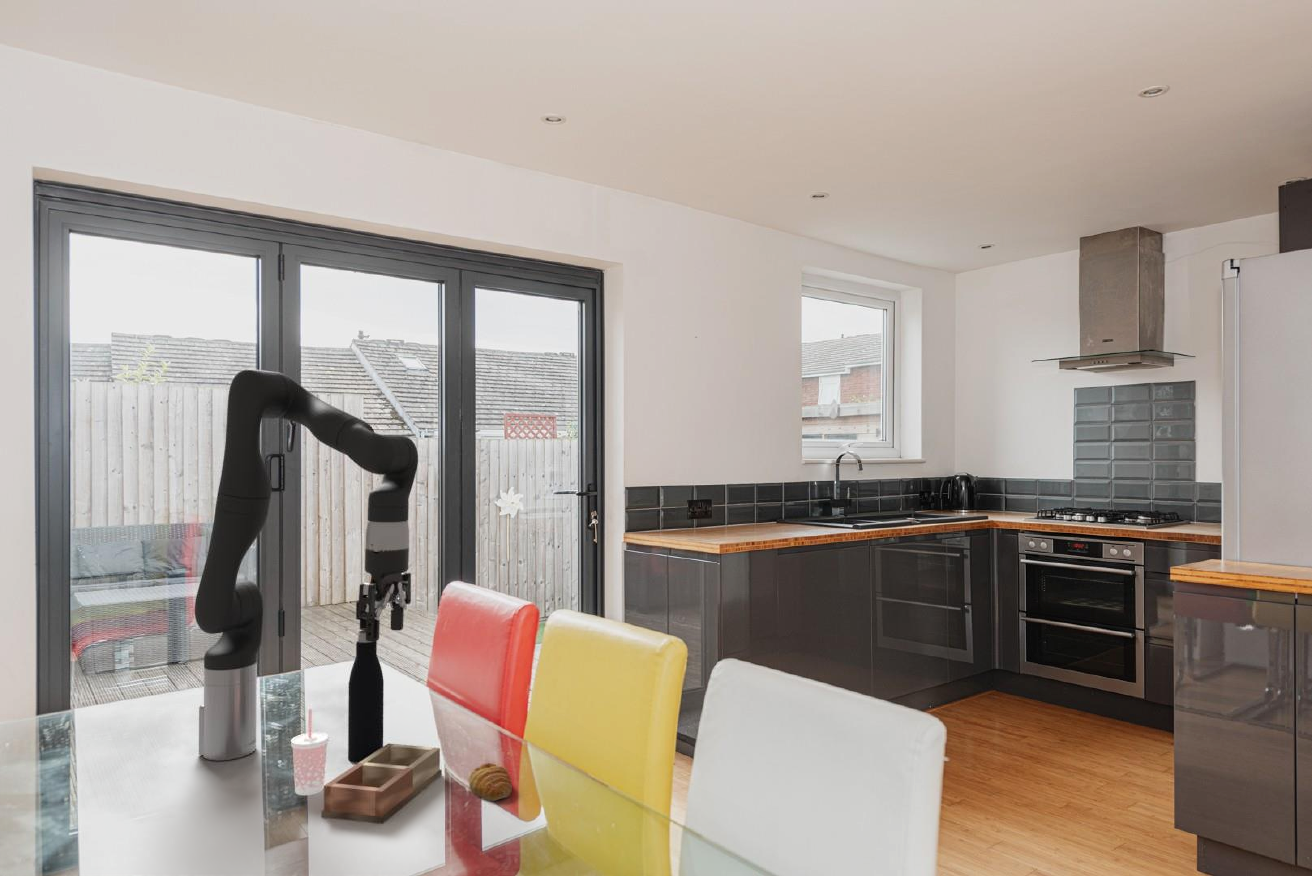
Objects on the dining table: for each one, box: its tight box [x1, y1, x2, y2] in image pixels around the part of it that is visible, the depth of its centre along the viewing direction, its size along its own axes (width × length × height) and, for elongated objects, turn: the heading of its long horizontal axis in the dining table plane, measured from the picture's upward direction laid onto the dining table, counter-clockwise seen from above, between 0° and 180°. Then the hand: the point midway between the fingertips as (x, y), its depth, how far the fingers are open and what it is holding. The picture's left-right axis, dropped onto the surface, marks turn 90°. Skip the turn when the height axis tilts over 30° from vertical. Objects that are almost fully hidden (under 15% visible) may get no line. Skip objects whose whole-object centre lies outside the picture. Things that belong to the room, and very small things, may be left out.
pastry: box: [468, 762, 513, 802], centre depth 144 cm, size 9×7×4 cm
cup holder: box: [320, 743, 443, 825], centre depth 143 cm, size 11×20×5 cm, turn 168°
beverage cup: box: [290, 708, 330, 796], centre depth 145 cm, size 6×6×14 cm
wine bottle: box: [347, 600, 385, 764], centre depth 160 cm, size 6×6×30 cm
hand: (384, 635), depth 150 cm, fingers open, 8 cm apart
